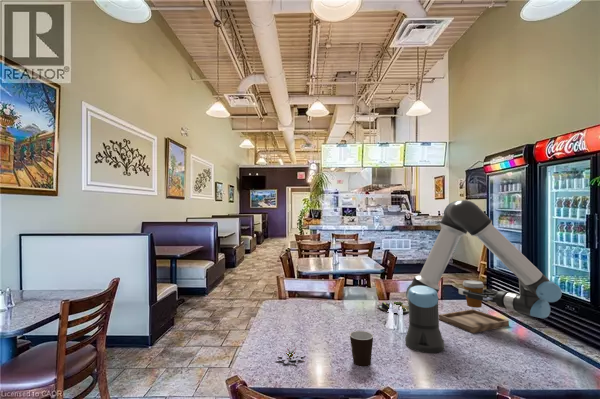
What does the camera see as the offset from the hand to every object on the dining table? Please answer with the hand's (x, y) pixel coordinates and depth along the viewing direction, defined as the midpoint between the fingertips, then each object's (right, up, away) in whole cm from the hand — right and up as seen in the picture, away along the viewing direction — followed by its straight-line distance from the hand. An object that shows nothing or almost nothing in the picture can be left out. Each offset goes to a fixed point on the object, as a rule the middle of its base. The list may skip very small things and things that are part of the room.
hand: (465, 289), depth 161 cm
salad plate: (-32, -17, +17) cm, 40 cm away
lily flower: (-90, -15, -43) cm, 100 cm away
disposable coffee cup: (+2, -7, -5) cm, 9 cm away
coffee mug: (-63, -14, -45) cm, 78 cm away
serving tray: (+1, -15, -6) cm, 16 cm away
